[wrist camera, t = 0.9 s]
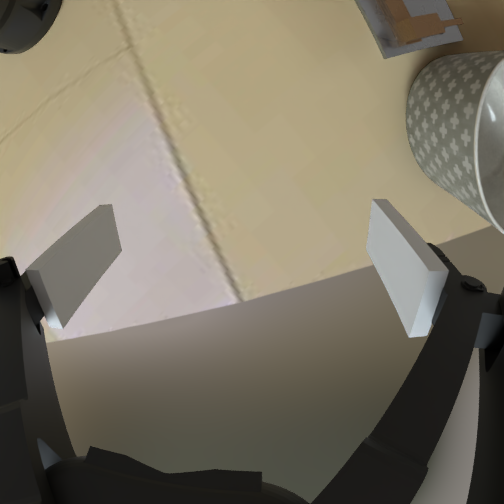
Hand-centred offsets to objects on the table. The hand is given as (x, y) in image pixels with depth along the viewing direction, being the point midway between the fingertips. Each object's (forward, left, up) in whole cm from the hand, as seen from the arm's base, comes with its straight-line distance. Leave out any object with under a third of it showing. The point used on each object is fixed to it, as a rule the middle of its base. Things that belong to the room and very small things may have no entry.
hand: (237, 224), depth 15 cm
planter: (+7, +27, -26) cm, 38 cm away
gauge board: (-14, +26, -26) cm, 39 cm away
